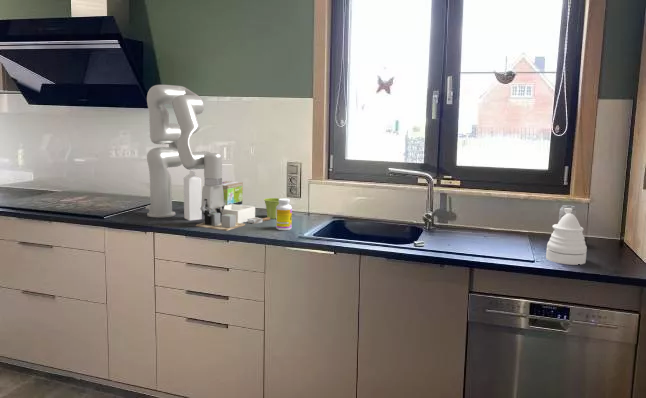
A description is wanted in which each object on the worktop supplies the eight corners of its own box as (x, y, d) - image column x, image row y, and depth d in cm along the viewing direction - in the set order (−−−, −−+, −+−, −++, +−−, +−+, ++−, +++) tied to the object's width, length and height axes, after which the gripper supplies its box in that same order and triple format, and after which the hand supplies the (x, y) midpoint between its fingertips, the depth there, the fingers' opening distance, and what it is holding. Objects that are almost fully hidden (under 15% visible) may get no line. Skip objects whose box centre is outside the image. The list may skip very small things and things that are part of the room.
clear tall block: (553, 241, 220) (556, 204, 218) (566, 241, 222) (569, 204, 219) (563, 245, 214) (566, 207, 212) (576, 244, 216) (580, 207, 213)
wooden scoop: (253, 224, 238) (253, 220, 238) (247, 223, 241) (247, 218, 241) (272, 221, 247) (272, 217, 246) (266, 219, 249) (266, 215, 249)
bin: (213, 221, 244) (213, 208, 243) (231, 216, 255) (231, 204, 254) (237, 224, 238) (237, 211, 237) (255, 219, 249) (255, 206, 248)
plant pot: (267, 215, 261) (267, 197, 259) (286, 216, 259) (286, 198, 257) (261, 218, 252) (261, 200, 250) (280, 220, 250) (281, 201, 248)
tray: (196, 227, 231) (196, 224, 231) (215, 221, 242) (215, 219, 242) (226, 231, 224) (226, 229, 223) (245, 226, 235) (245, 223, 235)
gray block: (221, 226, 230) (221, 215, 229) (227, 225, 234) (227, 213, 233) (229, 228, 228) (229, 216, 228) (235, 226, 232) (235, 215, 231)
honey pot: (541, 254, 199) (545, 205, 196) (577, 255, 198) (582, 207, 195) (552, 263, 187) (557, 212, 184) (591, 265, 186) (596, 213, 183)
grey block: (206, 224, 234) (206, 213, 233) (212, 223, 237) (212, 211, 237) (214, 225, 232) (214, 214, 231) (220, 224, 235) (220, 213, 235)
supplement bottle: (292, 230, 228) (292, 200, 226) (276, 231, 227) (276, 200, 225) (290, 227, 235) (291, 198, 233) (275, 227, 234) (275, 198, 232)
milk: (189, 221, 243) (188, 172, 239) (184, 218, 247) (183, 170, 244) (202, 219, 246) (201, 171, 243) (196, 217, 251) (195, 170, 247)
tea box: (227, 216, 257) (227, 185, 254) (209, 214, 260) (208, 183, 258) (243, 211, 270) (243, 181, 268) (225, 209, 274) (225, 180, 272)
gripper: (218, 179, 241) (219, 219, 244) (192, 183, 226) (193, 225, 229) (232, 180, 238) (232, 221, 240) (207, 185, 222) (207, 228, 225)
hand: (213, 223), depth 235 cm, fingers open, 6 cm apart
